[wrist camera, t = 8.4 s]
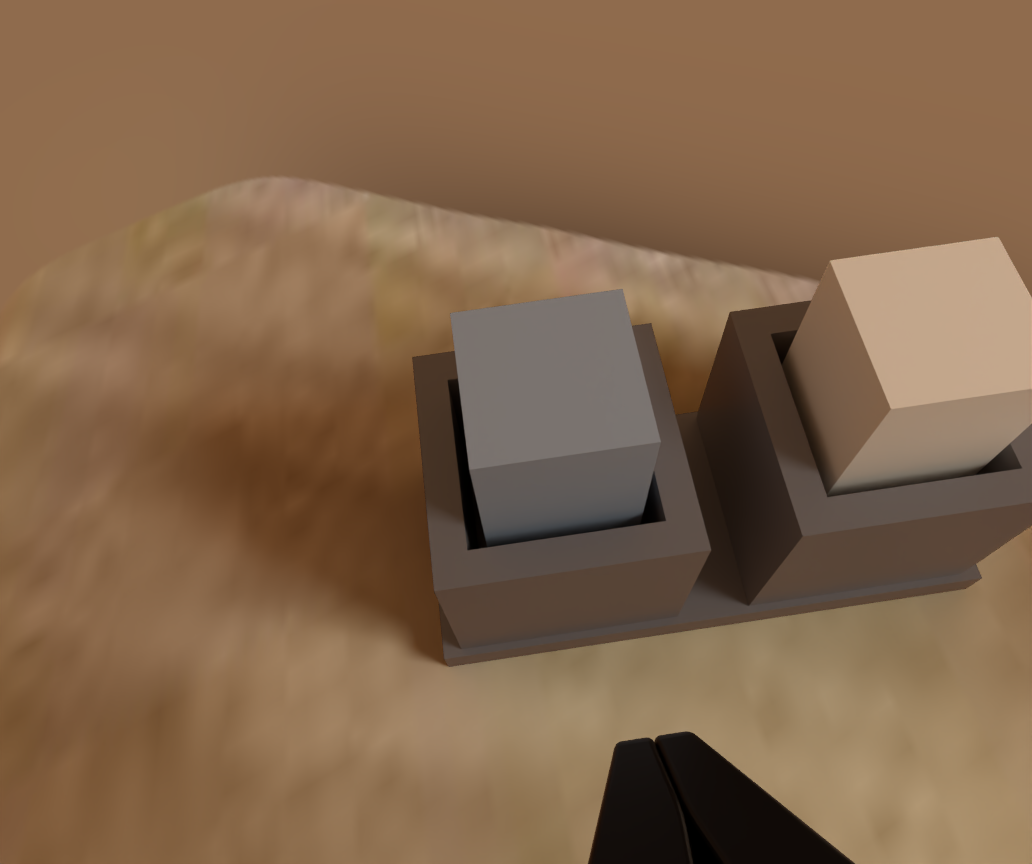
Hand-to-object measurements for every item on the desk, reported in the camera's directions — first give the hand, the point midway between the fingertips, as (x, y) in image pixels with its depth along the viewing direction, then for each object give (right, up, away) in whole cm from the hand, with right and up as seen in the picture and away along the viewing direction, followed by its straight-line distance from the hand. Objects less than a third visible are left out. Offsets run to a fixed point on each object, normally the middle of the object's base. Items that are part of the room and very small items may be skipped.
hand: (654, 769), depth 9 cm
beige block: (+7, +3, +13) cm, 16 cm away
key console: (+4, +1, +16) cm, 16 cm away
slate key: (0, +2, +13) cm, 13 cm away
